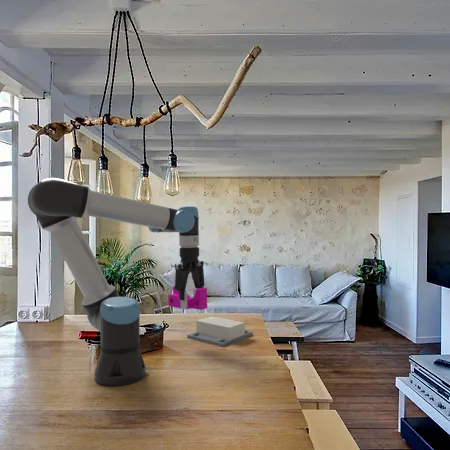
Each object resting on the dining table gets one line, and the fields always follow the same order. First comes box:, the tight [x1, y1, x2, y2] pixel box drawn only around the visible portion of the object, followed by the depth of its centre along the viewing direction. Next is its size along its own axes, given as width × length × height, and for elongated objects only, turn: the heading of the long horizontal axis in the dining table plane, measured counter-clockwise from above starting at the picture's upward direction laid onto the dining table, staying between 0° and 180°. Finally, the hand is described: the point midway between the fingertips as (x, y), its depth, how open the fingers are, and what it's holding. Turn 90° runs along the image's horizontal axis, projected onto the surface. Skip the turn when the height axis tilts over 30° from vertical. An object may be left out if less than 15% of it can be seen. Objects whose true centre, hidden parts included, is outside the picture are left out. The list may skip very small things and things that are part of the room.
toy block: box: [167, 285, 208, 311], centre depth 144 cm, size 15×6×8 cm, turn 50°
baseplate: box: [186, 316, 254, 348], centre depth 156 cm, size 20×19×6 cm
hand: (190, 306), depth 143 cm, fingers closed on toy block, 6 cm apart
